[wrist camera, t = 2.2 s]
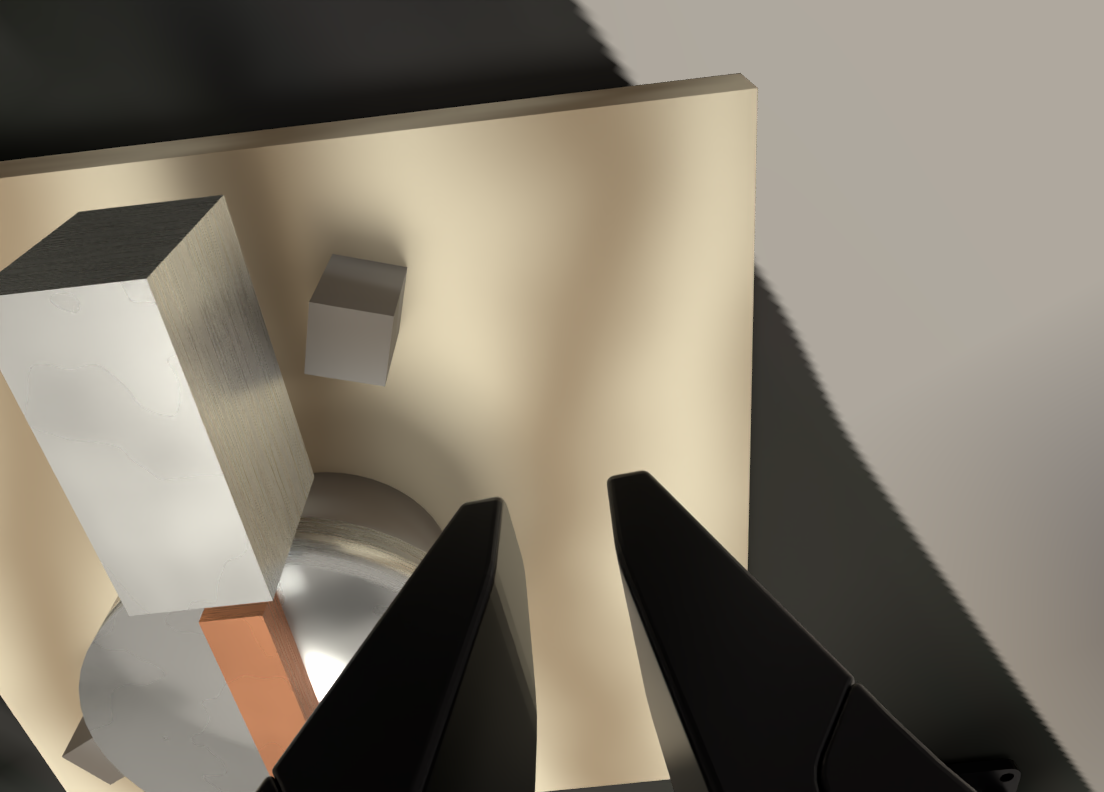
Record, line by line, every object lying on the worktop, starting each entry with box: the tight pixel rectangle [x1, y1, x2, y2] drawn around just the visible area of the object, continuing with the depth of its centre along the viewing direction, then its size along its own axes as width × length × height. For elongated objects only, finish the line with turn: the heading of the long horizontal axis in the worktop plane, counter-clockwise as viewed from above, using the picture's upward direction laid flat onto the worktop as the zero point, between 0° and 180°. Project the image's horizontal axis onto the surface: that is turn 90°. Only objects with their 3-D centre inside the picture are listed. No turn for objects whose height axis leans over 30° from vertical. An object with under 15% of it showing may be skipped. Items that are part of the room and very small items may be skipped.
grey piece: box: [0, 195, 426, 792], centre depth 17 cm, size 16×9×4 cm, turn 6°
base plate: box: [0, 73, 758, 792], centre depth 22 cm, size 22×22×5 cm
